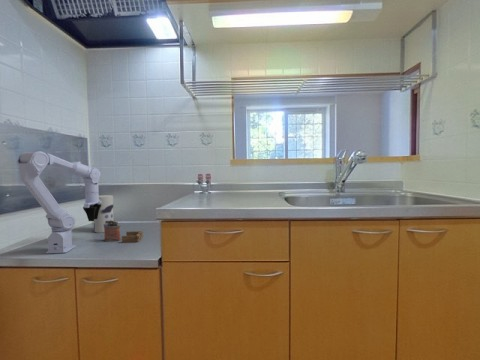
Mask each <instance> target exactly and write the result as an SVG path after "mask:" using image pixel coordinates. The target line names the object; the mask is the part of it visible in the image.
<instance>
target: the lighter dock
mask: <svg viewBox="0 0 480 360" xmlns="http://www.w3.org/2000/svg"><path fill="white" fill-rule="evenodd" d="M143 237H144V231H143V230H140V231H139V230H138V231H135V230H134V231H126V235H122V236H121V243H124V244H126V243H127V244H128V243H129V244H130V243H139V242H140V241H141V240H142V239H143Z"/></svg>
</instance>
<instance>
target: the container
mask: <svg viewBox="0 0 480 360" xmlns="http://www.w3.org/2000/svg"><path fill="white" fill-rule="evenodd" d="M99 199H100V201H102V202H101V203H98V204H101V207H100V210H99V213H98V218H97V219H94V221H93V232H94V233H97V234H98V233H99V234H100V233H101V234H102V233H104V225H108V223H105V221H113V220H114V195H111V194H109V195H99ZM114 221H115V220H114Z"/></svg>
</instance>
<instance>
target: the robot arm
mask: <svg viewBox="0 0 480 360" xmlns="http://www.w3.org/2000/svg"><path fill="white" fill-rule="evenodd" d="M16 164H17V165H18V170H19V179H20V181H22V183H23V185H25V187H26V188H27V190H28V191H29V192H30V193H31V195H32V196H33V197H34V199H35V200H36V202H37V203H39V205H40V206H41V208H42V209H43V210H44V212H45V213H46V215H45V218H46V219H47V224H48V226H49V227H50V228H51V233H50V234H49V236H48V238H47V251H46V252H45V255H46V254H64V253H68V252H70V251H71V250H73V249H74V248H76V247H77V245H76V244H75V245H74V244H73V228H74V226H75V224H76V218H75V217H74V216H73V215H71V214H70V213H69V212H68V211H67V210H65V209H64V208H62V207H61V206H60V204H59V203H58V201H57V200H56V199H55V198H54V196H53V195H52V193H51V192H50V190H49V189H48V187H46V185H45V184H44V182H43V181H42V179H41V178H40V176H41V173H42V172H43V171H44V169H46V167H47V166H53V167H54V166H55V167H58V168H61V169H65V170H68V173H69V174H71V175H75V176H78V177H81V178H82V179H84V194H85V196H84V197H85V199H84V200H85V201H84V204H83V207H82V209H83V211H84V212H85V214H86V216H87V220H88V222H94V219H97V218H98V213H99V210H100V207H101V204H98V203H101V202H102V201H100V199H99V196H100V194H99V193H100V192H99V191H100V190H99V181H100V179H101V176H102V173H101V172H100V170H99V169H98V168H97V167H91V166H90V165H86V164H83V163H82V162H81V161H78V160H77V161H73V162H72V161H71V162H70V161H67V160H65V159H63V158H60V157H58V156H55V155H54V154H51V153H48V152H46V153H45V152H44V151H40V150H39V151H24V152H21V153H20V155H19V156H18V158H17V161H16Z"/></svg>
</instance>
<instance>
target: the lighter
mask: <svg viewBox="0 0 480 360" xmlns="http://www.w3.org/2000/svg"><path fill="white" fill-rule="evenodd" d="M118 222H119V221H117V220H113V221H105V223H108V225H104V232H103V233H104V234H103V235H104V239H103V241H104V242H111V243H113V242H121V241H122V238H121V225H120V224H118Z"/></svg>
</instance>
